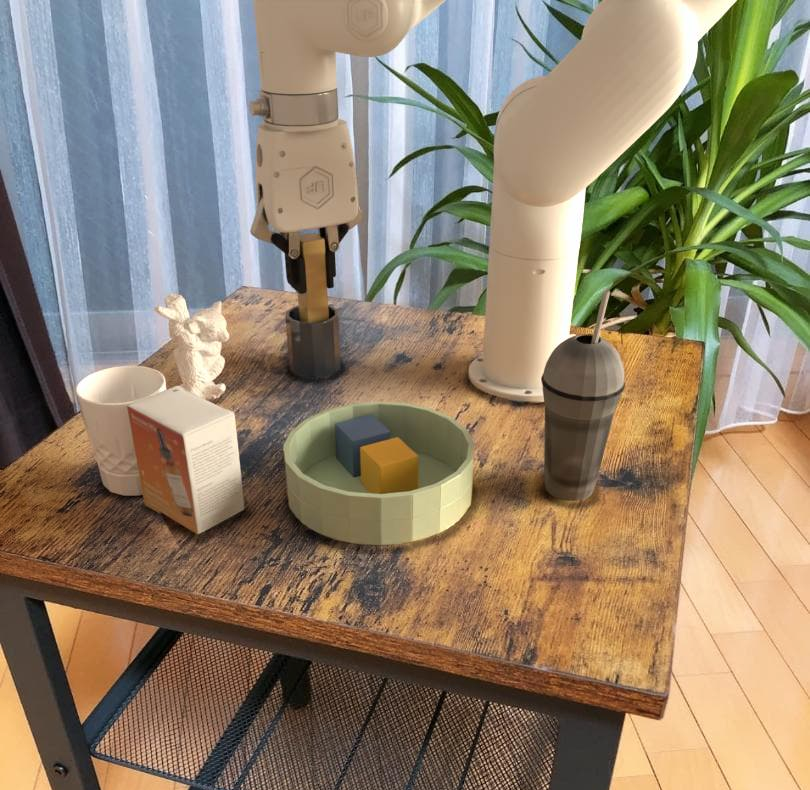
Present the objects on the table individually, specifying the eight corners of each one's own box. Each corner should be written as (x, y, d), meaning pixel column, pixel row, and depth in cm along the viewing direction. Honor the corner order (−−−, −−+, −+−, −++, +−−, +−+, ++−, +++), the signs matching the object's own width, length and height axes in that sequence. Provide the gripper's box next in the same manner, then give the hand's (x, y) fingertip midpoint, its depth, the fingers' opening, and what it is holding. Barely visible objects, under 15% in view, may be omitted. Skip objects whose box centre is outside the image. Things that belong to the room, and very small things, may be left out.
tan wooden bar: (322, 358, 109) (314, 232, 100) (331, 366, 107) (324, 238, 98) (302, 363, 108) (293, 235, 99) (311, 371, 106) (302, 242, 97)
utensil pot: (327, 355, 111) (324, 299, 107) (349, 374, 107) (347, 317, 103) (281, 365, 109) (277, 309, 105) (302, 385, 105) (298, 327, 100)
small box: (144, 506, 84) (123, 404, 78) (192, 482, 88) (177, 382, 81) (198, 540, 80) (181, 435, 74) (247, 513, 83) (235, 410, 77)
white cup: (160, 504, 84) (142, 408, 79) (81, 495, 86) (58, 399, 80) (193, 461, 91) (178, 369, 85) (119, 453, 92) (100, 362, 86)
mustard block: (397, 472, 88) (397, 436, 86) (418, 492, 85) (418, 455, 83) (360, 483, 86) (359, 446, 84) (380, 503, 84) (379, 466, 81)
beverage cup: (562, 464, 90) (586, 265, 79) (623, 493, 86) (658, 287, 75) (514, 491, 86) (532, 286, 75) (575, 523, 82) (604, 310, 70)
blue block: (372, 449, 92) (371, 413, 89) (390, 467, 89) (390, 431, 86) (336, 458, 90) (334, 423, 88) (353, 477, 87) (352, 441, 85)
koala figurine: (185, 418, 98) (169, 311, 91) (152, 397, 102) (134, 293, 95) (250, 393, 103) (239, 290, 96) (216, 374, 107) (203, 274, 100)
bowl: (414, 435, 95) (415, 387, 92) (507, 516, 83) (511, 464, 80) (260, 476, 88) (255, 426, 85) (336, 572, 76) (333, 517, 73)
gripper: (237, 124, 85) (256, 312, 96) (389, 107, 92) (391, 285, 103) (210, 110, 91) (231, 289, 102) (356, 95, 97) (361, 265, 108)
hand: (312, 285), depth 102 cm, fingers closed on tan wooden bar, 2 cm apart
